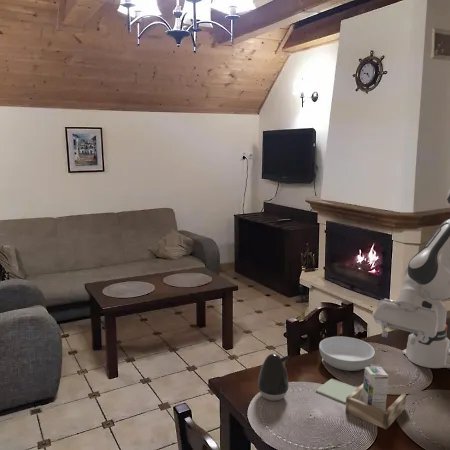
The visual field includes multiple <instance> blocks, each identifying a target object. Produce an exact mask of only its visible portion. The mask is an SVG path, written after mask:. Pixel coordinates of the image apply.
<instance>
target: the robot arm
mask: <svg viewBox="0 0 450 450" xmlns="http://www.w3.org/2000/svg"><path fill="white" fill-rule="evenodd" d="M446 196H447V198H446V201H447V202H448V204H449V205H450V188H449V189H448V191H447V195H446ZM404 277H405V278H404V280H403V282H402V283H403V287H402V288H401V290H400V292H399V295H398V297H397V300H395V299H393V300H392V299H388V298H384V299H380V300H379V301H378V303H377V306H376V309H375V311H374V312H373V315H372V318H373V321H374V322H375V323H376V324H378V325H381V329H382V332H381V337H382V338H386V339H387V338H388V335H389V332H388V331H387V330H386V329H388V327H390V328H393V329H394V328H395V329H398V330H402V331H405V332H409V333H410V334H409V335H408V337H407V343H406V348H405V349H403V350H402V354H403V355H404V354H405V355H404V356H406V358H407V357H408V358H407V359H408V360H409V361H410V362H411V363H413V364H415V365H418V366H420V367H423V368H430V369H441V368H443V369H444V368H446V369H450V339H449V338H448V337H447V335H448V334H447V333H448V332H447V330H448V324H446V323H447V315H448V314H447V313H448V310H447V307H446V305H445V304H444V302H443V301H447V300H450V218H449V219H445V220H444V221H443V222H441V224H440V225H439V226H438V227H437V228H436V230H435V231H434V232H433V234H432V235H430V238H429V239H428V240H427V241H426V243H425V244H424V245H423V246H422V248H421V249H420V250H419V251H418V252H417V253H416V254H415V255H413V257H411V259H410V260H409V261H408V263H407V265H406V266H405V269H404Z"/></svg>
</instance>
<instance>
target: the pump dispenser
mask: <svg viewBox="0 0 450 450" xmlns="http://www.w3.org/2000/svg"><path fill="white" fill-rule="evenodd" d="M289 359H290V356H289V355H285V356H283V357H281V356H280V355H279V354H277V353H271V354H269V355H267V356H266V358H265V359H264V361H263V363H262V364H261V367H260V371H259V374H258V379H257V381H258V382H257V387H258V389H259V392H260V395H261V396H262V397H263V398H264V399H266V400H267V401H271V402H276V401H280V400H282V399H283V398H284V397H286V395H287V391H288V390H289V377H288V376H289V375H288V372H287V368H286V365H285V363H284V362H286V361H288V360H289Z"/></svg>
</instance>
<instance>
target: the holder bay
mask: <svg viewBox="0 0 450 450" xmlns="http://www.w3.org/2000/svg"><path fill="white" fill-rule="evenodd" d="M363 384H364V382H363V383H362V384H360V385H359V386H358V387H356V388H357V389H356V390H355V391H353V392H352V393H351V394H350V395H349V396H348V397H346V403H345V413H347V414H348V415H351V416H353V417H355V418H358V417H359V418H358V419H361V420H363V421H365V422H367V423H370V424H372V425H374V426H377V427H379V428H382V429H383V430H387V429H388V428H389V427H390V426H391V425H392V424H393V423H394V422H396V421H395V420H396V419H397V418H398V417H400V415H401V414H402V413H403V412H404V411H405V410H406V402H407V394H405V393H401V394H400V396H398V397H397V399H395V401H393V403H391V404H390V405H389V407H387V409H385V411H384V410H381V409H379V408H376V407H374V406H371V405H369V404H366V403H364V402H362V396H363ZM403 410H404V411H403ZM402 411H403V412H402Z"/></svg>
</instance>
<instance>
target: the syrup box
mask: <svg viewBox="0 0 450 450" xmlns="http://www.w3.org/2000/svg"><path fill="white" fill-rule="evenodd" d="M363 383H364V384H363ZM363 383H362V384H363V396H362V402H364V403H366V404H369V405H371V406H374V407H376V408H379V409H381V410H384V411H386V410H387V409H386V408H387V396H388V386H389V384H388V383H389V374H388V373H387V371H386V370H385V369H384V368H383V367H382V366H377V365H376V366H367V367H365V368H364V373H363Z"/></svg>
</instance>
